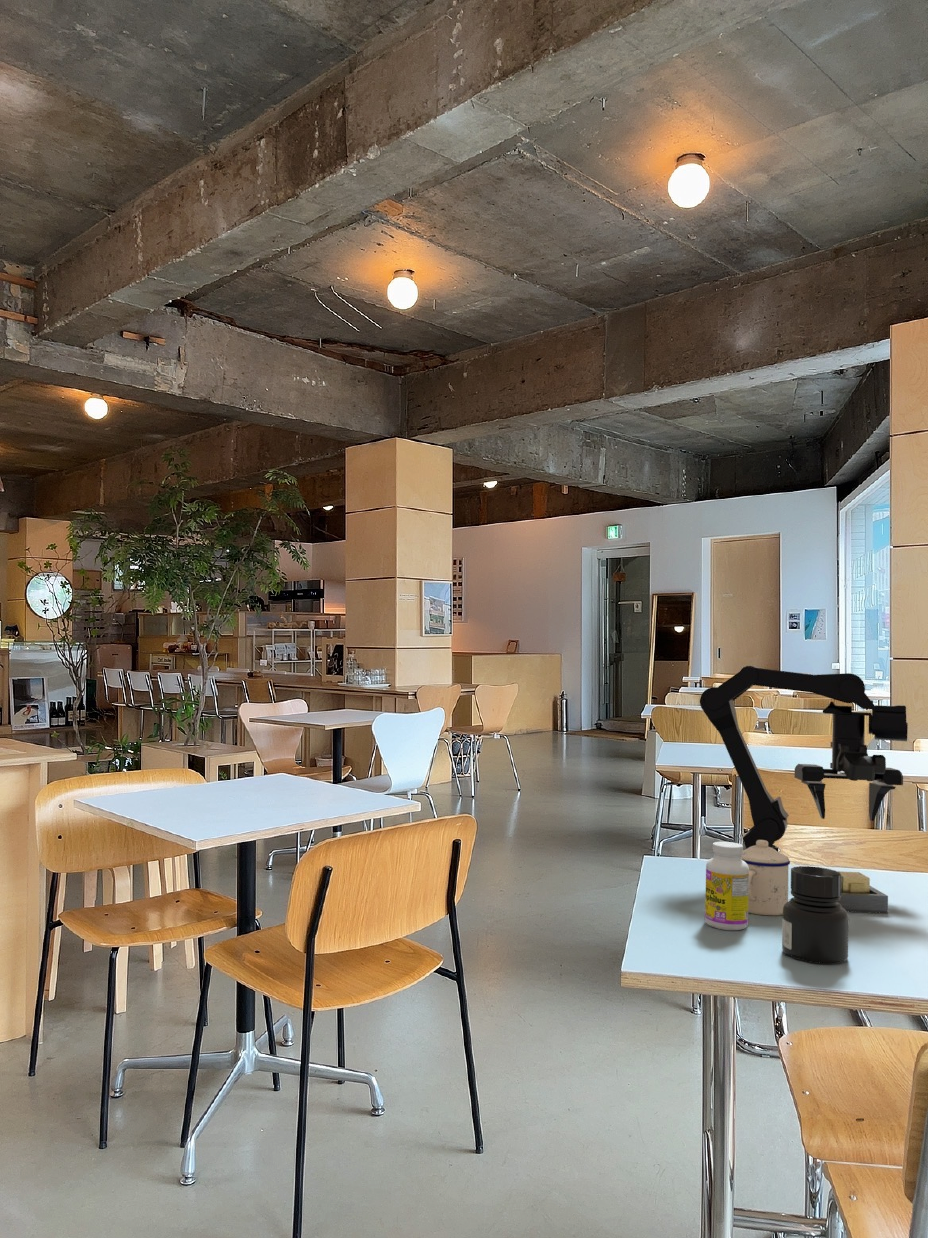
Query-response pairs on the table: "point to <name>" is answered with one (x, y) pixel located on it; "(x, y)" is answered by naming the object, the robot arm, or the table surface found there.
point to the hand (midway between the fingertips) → (847, 819)
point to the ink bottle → (815, 917)
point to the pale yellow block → (854, 883)
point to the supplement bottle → (727, 887)
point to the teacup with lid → (766, 879)
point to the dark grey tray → (865, 902)
